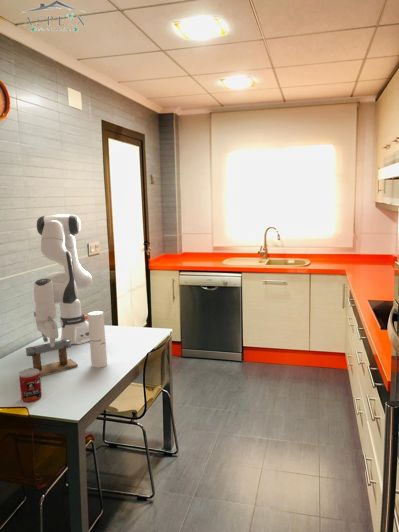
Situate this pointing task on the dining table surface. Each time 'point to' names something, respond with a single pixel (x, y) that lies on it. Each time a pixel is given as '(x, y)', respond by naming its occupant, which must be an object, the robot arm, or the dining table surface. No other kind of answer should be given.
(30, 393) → the canned food
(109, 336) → the dining table surface
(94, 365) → the cylindrical container
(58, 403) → the dining table surface
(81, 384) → the dining table surface
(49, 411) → the dining table surface
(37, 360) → the spanner rest
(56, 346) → the metal bar
